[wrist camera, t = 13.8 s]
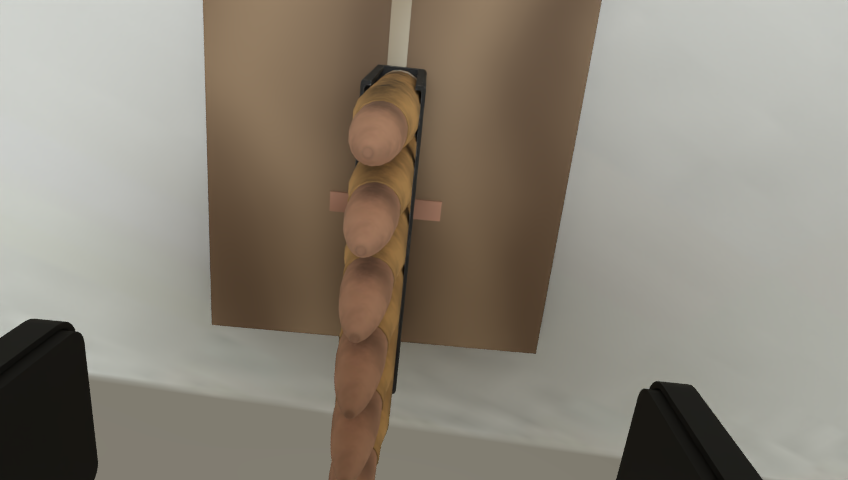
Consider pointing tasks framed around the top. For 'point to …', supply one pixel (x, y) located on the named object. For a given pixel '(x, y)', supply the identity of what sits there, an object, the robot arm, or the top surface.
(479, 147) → the walnut board
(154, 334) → the top surface
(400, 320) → the ammunition clip
